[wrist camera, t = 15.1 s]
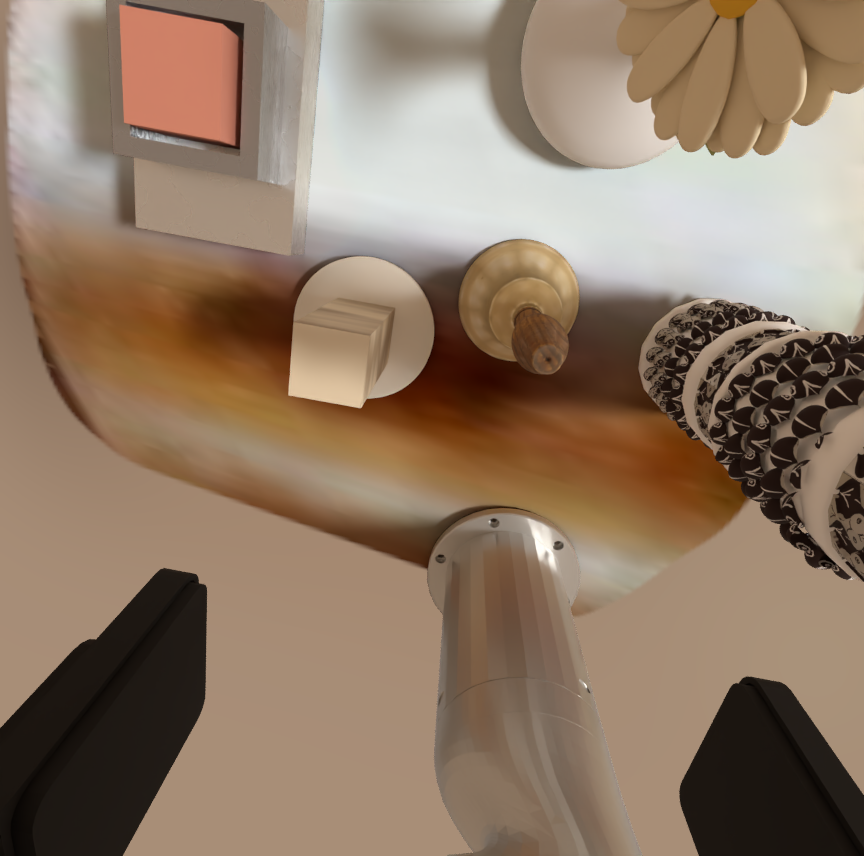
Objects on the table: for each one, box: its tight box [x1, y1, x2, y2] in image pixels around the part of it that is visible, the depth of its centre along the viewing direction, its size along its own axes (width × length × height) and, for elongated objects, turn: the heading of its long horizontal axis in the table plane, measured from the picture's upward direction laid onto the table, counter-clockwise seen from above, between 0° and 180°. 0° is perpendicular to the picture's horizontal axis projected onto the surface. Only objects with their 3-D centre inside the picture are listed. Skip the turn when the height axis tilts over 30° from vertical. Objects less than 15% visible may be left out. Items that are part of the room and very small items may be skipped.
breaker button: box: [119, 5, 244, 150], centre depth 28 cm, size 5×5×4 cm
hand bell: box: [459, 239, 580, 374], centre depth 29 cm, size 8×8×16 cm
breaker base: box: [106, 0, 324, 256], centre depth 30 cm, size 16×10×6 cm, turn 170°
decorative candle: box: [638, 299, 864, 582], centre depth 25 cm, size 9×9×25 cm
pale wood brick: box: [288, 298, 395, 408], centre depth 32 cm, size 4×4×10 cm
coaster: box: [294, 256, 434, 399], centre depth 37 cm, size 10×10×1 cm
